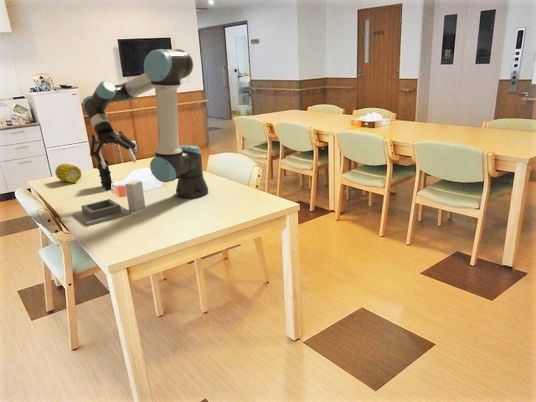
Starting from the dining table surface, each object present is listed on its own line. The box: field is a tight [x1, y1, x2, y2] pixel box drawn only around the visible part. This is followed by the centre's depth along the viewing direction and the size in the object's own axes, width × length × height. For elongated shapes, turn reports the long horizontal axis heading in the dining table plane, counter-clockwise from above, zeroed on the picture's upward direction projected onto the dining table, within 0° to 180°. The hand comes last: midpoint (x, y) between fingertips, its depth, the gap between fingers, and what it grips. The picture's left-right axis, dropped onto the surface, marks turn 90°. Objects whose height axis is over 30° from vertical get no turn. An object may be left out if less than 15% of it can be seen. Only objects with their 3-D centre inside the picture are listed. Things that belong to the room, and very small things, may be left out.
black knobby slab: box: [96, 158, 114, 191], centre depth 212 cm, size 4×13×15 cm, turn 33°
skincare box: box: [124, 179, 146, 212], centre depth 178 cm, size 6×4×12 cm
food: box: [54, 163, 82, 183], centre depth 227 cm, size 15×12×10 cm
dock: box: [72, 199, 132, 227], centre depth 174 cm, size 18×18×4 cm
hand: (120, 164), depth 182 cm, fingers open, 13 cm apart
